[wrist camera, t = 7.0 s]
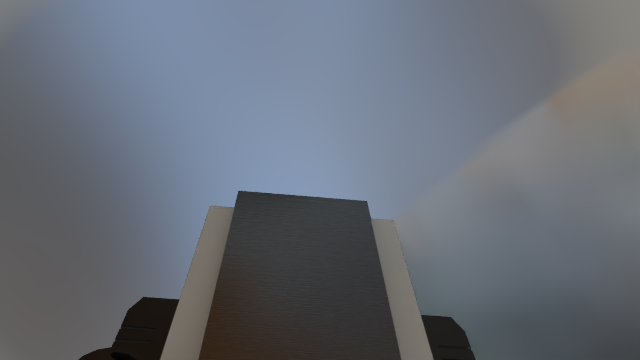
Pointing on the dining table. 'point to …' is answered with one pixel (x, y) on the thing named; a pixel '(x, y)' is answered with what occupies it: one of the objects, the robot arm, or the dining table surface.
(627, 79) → the dining table surface
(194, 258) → the robot arm
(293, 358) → the dark grey angular block
